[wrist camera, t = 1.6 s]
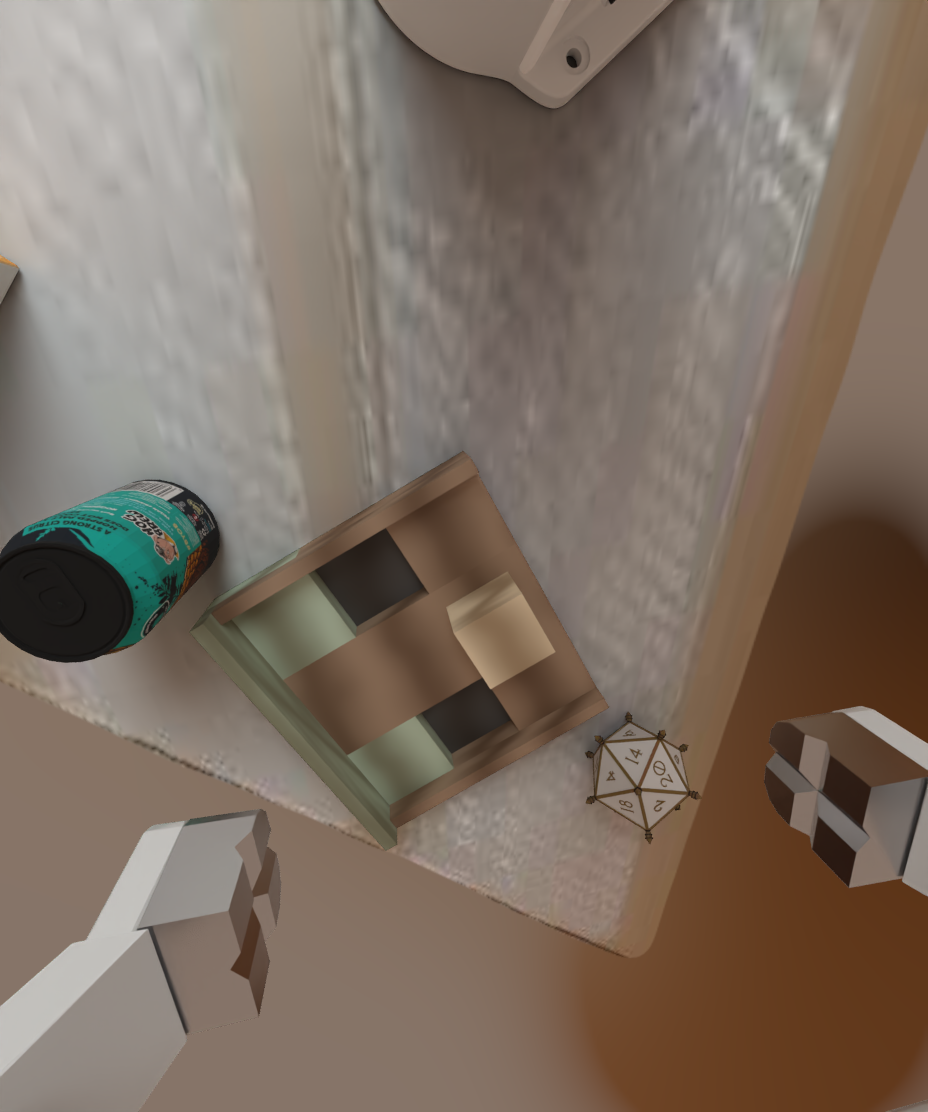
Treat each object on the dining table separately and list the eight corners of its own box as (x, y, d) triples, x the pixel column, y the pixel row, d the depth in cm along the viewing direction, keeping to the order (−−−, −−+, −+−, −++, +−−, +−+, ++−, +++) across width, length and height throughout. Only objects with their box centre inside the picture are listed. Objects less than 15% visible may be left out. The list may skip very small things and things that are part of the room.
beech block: (507, 571, 36) (522, 593, 32) (538, 624, 38) (555, 651, 34) (446, 607, 36) (453, 633, 33) (479, 658, 38) (490, 689, 34)
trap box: (462, 451, 35) (475, 462, 30) (591, 682, 43) (617, 719, 38) (214, 599, 36) (189, 632, 31) (385, 800, 43) (385, 850, 39)
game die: (581, 710, 48) (567, 733, 39) (678, 701, 46) (688, 723, 36) (599, 812, 47) (589, 861, 37) (700, 808, 44) (716, 860, 35)
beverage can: (147, 595, 35) (35, 698, 24) (83, 503, 32) (-75, 568, 21) (243, 555, 35) (177, 638, 24) (186, 460, 33) (83, 502, 21)
